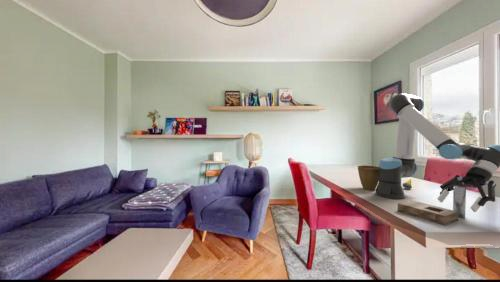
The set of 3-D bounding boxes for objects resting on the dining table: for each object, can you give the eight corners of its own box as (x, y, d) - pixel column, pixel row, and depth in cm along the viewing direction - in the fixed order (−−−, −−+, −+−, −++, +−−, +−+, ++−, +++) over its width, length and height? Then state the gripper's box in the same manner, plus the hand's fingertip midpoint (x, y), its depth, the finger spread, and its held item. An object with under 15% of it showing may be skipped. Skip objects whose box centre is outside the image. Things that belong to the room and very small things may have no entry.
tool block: (397, 210, 99) (397, 203, 99) (410, 207, 104) (411, 200, 104) (444, 225, 83) (445, 216, 83) (458, 220, 88) (458, 211, 88)
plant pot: (352, 187, 146) (352, 165, 145) (367, 186, 151) (367, 165, 150) (370, 192, 132) (371, 169, 131) (386, 191, 137) (387, 167, 136)
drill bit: (399, 188, 145) (405, 178, 148) (408, 192, 142) (413, 182, 145) (402, 185, 141) (408, 175, 144) (410, 190, 138) (416, 179, 141)
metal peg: (451, 215, 94) (451, 186, 93) (455, 214, 95) (455, 185, 95) (462, 218, 90) (463, 188, 90) (466, 217, 92) (467, 187, 91)
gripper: (524, 182, 83) (496, 221, 81) (454, 172, 107) (431, 201, 105) (515, 170, 82) (486, 209, 80) (447, 163, 106) (423, 192, 104)
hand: (455, 205), depth 92 cm, fingers open, 12 cm apart
